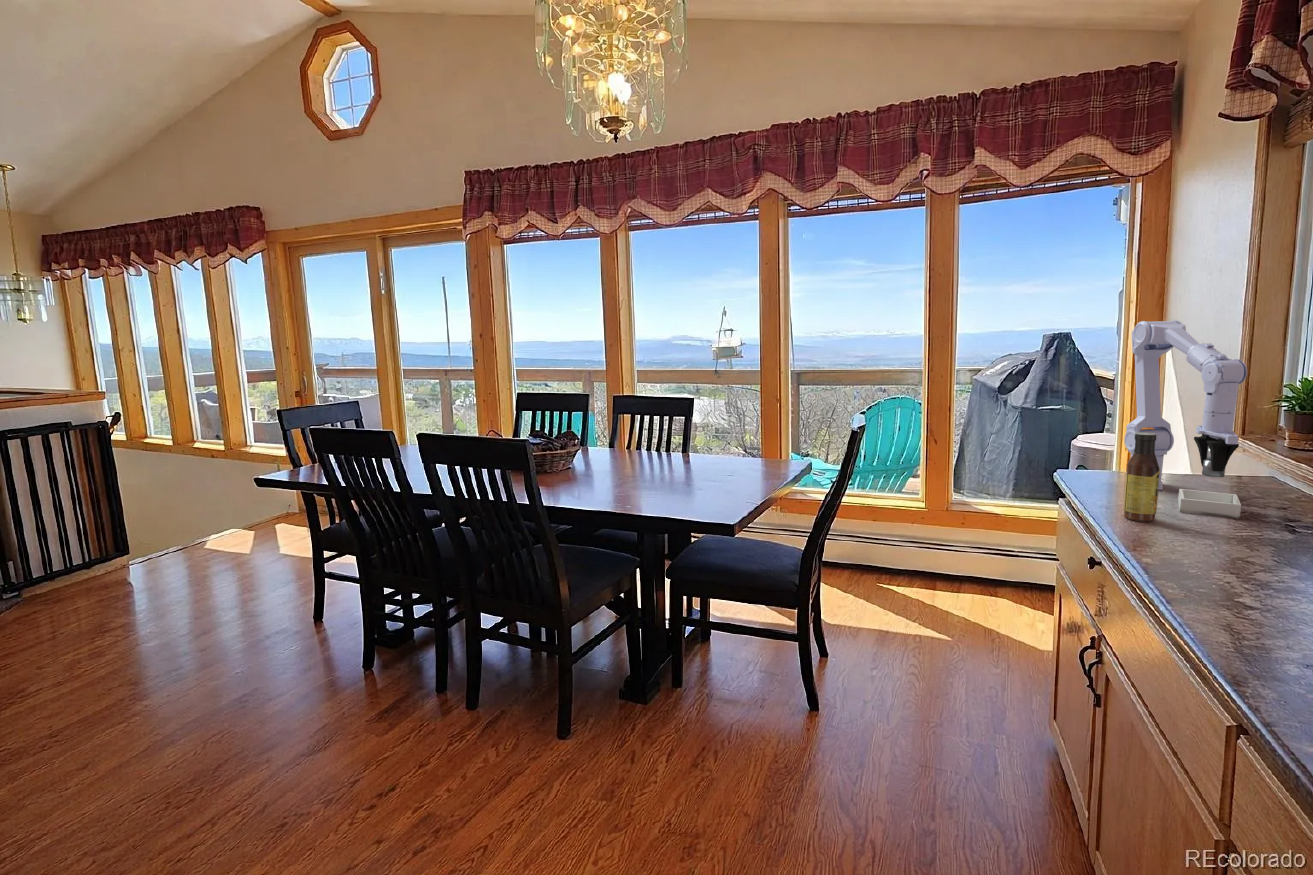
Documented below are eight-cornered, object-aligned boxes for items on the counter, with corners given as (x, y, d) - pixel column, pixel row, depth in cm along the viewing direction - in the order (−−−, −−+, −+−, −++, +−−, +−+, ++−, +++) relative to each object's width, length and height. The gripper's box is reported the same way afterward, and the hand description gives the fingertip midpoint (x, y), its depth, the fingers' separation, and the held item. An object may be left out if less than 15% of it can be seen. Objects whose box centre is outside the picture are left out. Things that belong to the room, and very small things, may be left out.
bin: (1177, 501, 175) (1179, 488, 174) (1234, 507, 169) (1236, 494, 168) (1179, 511, 166) (1181, 498, 165) (1239, 518, 160) (1241, 505, 159)
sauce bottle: (1160, 523, 158) (1170, 436, 154) (1129, 522, 159) (1138, 436, 156) (1146, 515, 164) (1155, 431, 161) (1117, 514, 165) (1125, 431, 162)
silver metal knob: (1217, 473, 168) (1221, 444, 166) (1228, 477, 164) (1232, 448, 162) (1197, 473, 168) (1201, 444, 167) (1208, 477, 164) (1212, 447, 163)
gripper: (1184, 407, 171) (1178, 461, 174) (1215, 416, 157) (1208, 475, 160) (1218, 407, 169) (1211, 462, 172) (1252, 416, 156) (1244, 476, 158)
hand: (1212, 468), depth 166 cm, fingers closed on silver metal knob, 4 cm apart
